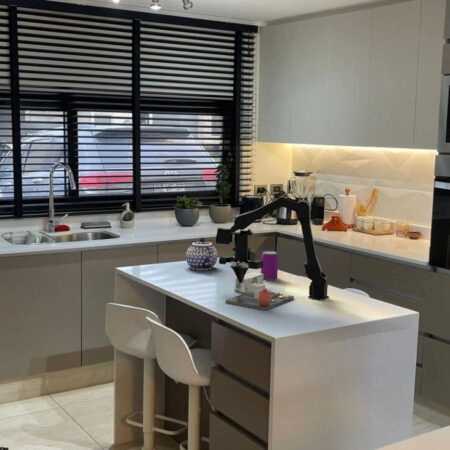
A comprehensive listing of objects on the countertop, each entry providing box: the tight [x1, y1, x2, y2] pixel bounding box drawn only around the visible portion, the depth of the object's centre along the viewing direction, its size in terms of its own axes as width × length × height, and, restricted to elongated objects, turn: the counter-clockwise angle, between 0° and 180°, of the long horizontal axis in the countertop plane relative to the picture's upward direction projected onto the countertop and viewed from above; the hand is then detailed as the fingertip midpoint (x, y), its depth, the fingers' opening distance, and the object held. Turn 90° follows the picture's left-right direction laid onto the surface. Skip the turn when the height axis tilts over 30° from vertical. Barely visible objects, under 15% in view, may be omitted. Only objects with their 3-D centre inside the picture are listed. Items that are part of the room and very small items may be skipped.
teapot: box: [185, 237, 218, 271], centre depth 336 cm, size 25×15×15 cm, turn 20°
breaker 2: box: [254, 289, 272, 299], centre depth 274 cm, size 5×4×4 cm
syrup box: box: [233, 271, 264, 294], centre depth 296 cm, size 6×6×14 cm
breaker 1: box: [249, 283, 266, 293], centre depth 284 cm, size 5×4×4 cm
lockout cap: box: [259, 288, 272, 306], centre depth 267 cm, size 4×4×6 cm
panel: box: [225, 291, 295, 311], centre depth 277 cm, size 18×22×2 cm
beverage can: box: [260, 250, 279, 281], centre depth 316 cm, size 8×8×12 cm
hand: (240, 282), depth 288 cm, fingers closed
